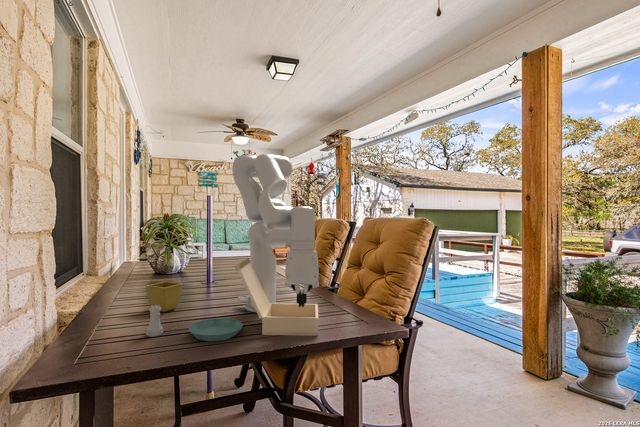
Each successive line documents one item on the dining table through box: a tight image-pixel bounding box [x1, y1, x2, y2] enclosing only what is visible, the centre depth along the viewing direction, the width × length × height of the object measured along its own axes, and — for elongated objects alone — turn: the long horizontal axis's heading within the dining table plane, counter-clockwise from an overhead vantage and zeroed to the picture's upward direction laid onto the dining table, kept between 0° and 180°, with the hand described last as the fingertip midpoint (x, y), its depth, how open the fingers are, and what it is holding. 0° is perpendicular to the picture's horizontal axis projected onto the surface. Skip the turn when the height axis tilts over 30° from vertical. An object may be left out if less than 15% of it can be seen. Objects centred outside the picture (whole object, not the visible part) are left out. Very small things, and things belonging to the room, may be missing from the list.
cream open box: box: [261, 302, 319, 337], centre depth 107 cm, size 16×16×5 cm
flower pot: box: [145, 281, 184, 313], centre depth 122 cm, size 9×9×9 cm
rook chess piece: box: [145, 305, 164, 338], centre depth 97 cm, size 4×4×8 cm
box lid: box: [234, 257, 269, 319], centre depth 106 cm, size 17×16×1 cm
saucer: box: [188, 317, 244, 342], centre depth 98 cm, size 15×15×3 cm
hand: (301, 305), depth 106 cm, fingers closed
